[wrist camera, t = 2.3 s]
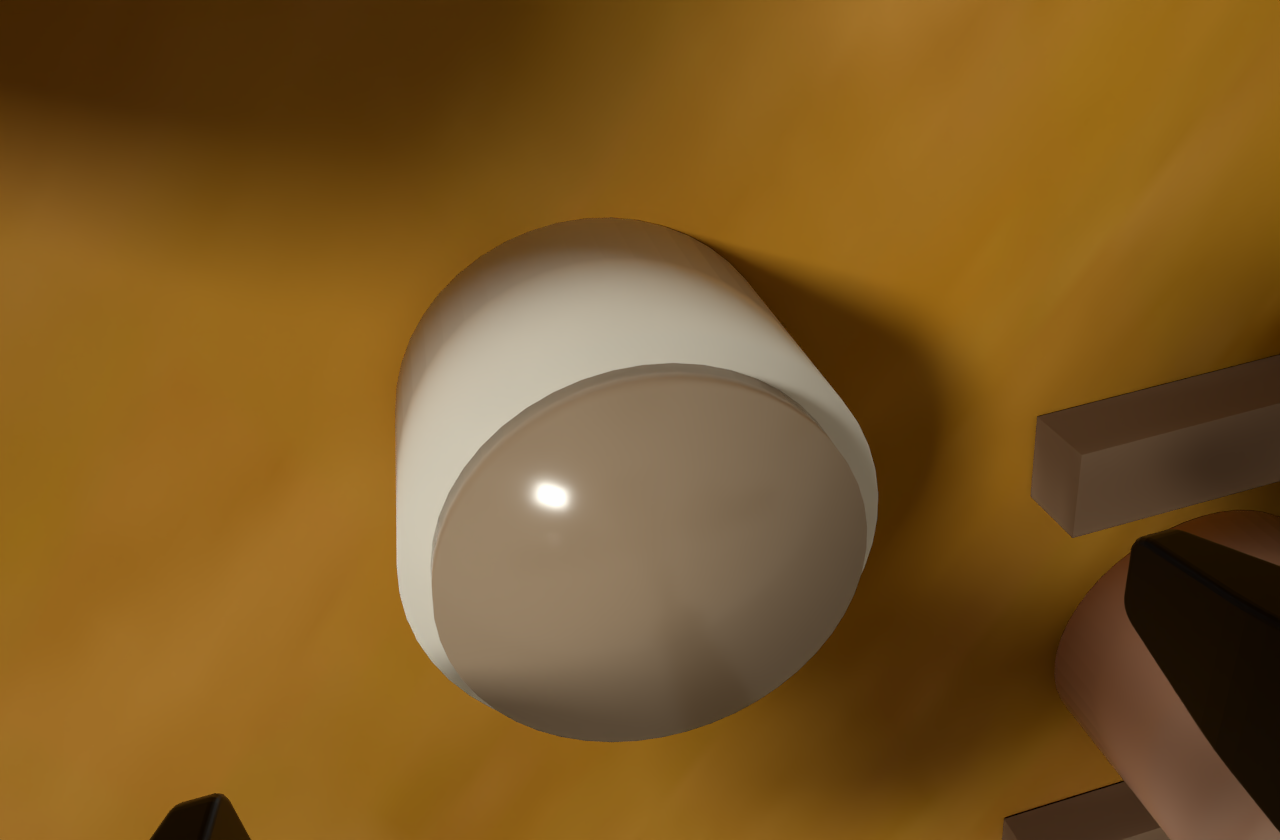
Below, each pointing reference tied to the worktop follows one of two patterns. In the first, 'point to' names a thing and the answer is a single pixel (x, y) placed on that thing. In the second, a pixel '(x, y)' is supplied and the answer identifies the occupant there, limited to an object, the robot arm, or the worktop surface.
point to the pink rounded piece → (1158, 702)
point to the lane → (1147, 510)
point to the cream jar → (621, 485)
